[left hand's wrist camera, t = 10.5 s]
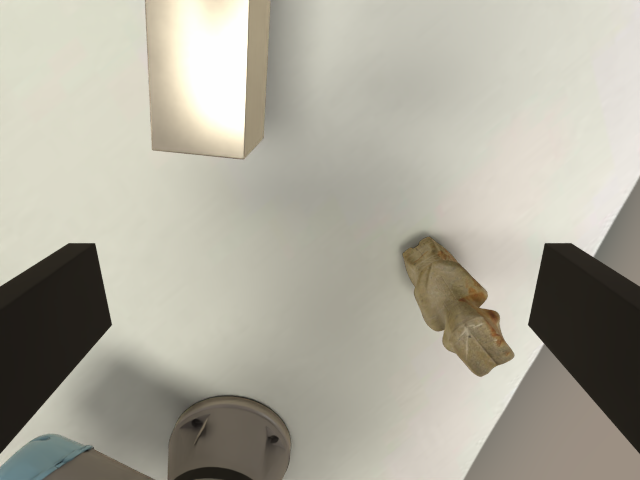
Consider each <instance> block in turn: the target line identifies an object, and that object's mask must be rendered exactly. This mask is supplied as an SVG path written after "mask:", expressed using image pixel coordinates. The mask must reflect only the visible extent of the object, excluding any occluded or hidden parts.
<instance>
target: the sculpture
mask: <svg viewBox="0 0 640 480" xmlns="http://www.w3.org/2000/svg"><path fill="white" fill-rule="evenodd" d="M403 257H404V262H405V267H406V270H407V273H408V275H409V277H410V279H411V281H412V283H413V285H414V286H415V290H414V295H415V298H416V301H417V303H418V305H419V307H420V310H421V313H422V315H423V318H424V320H425V322H426V324H427V325H428V326H429V327H430V328H431V329H433V330H435V331H443V330H444V335H443V340H442V342H443V345H444V347H445V348H446V349H447V350H449V351H451V352H453V353H456V354H457V355H458V356H459V358H460V359H461V360H462V361H463V362H464V363H465V364H466V366H467V367H468V368H469V369H470V370H471V371H472V372H473V373H474V374H475V375H477V376H479V377H482V376H484V375H486V374H488V373H489V372H490V371H491V370H492V369H493V368H494V367H496V366H498V365H501V364H504V363H506V362H508V361H510V360H511V359H513V357H514V353H513V351H512V350H511V348H510V347H509V346H508V344H507V343H506V342H505V340H504V338H503V336H502V333H501V330H500V325H499V321H500V316H499V314H498V313H497V312H496V311H493V310H488V309H482V308H479V307H480V306H481V305H482V304H483V303H484V302H485V300H486V299H487V297H488V294H487V291H486V290H485V289H484V288H483V287H482V286H481V285H480V284H479V283H478V282H477V281H476V280H475V279H474V278H473V277H472V276H471V275H470V274H469V273H468V272H467V271H466V270H465V269H464V268H463V267H462V266H461V265H460V264H459V263H458V262H457V261H456V259H455V258H454V257H453V256H452V255H451V254H450V253H449V252H448V251H447V250H446V249H445V248H444V247H442V246H441V245H440V244H438V243H437V242H436V241H434V240H433V239H432V238H431V237H426V238H425V239H423V240H421V241H420V242H419V245H418V246H416V247H415V248H409V249H408V250H406V251H405V252H404V253H403Z"/></svg>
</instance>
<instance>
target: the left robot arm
mask: <svg viewBox="0 0 640 480" xmlns="http://www.w3.org/2000/svg"><path fill="white" fill-rule="evenodd" d="M111 325H112V323H111V318H110V313H109V308H108V304H107V299H106V294H105V289H104V284H103V279H102V274H101V270H100V265H99V260H98V255H97V250H96V245H95V243H69V244H67V245H65V246H64V247H62V248H61V249H59V250H57V251H56V252H54V253H53V254H51V255H50V256H48V257H46V258H45V259H43V260H42V261H40V262H38V263H37V264H35V265H34V266H32V267H31V268H29V269H27V270H26V271H24V272H23V273H21V274H19V275H18V276H16V277H15V278H13V279H12V280H10V281H8V282H7V283H5V284H4V285H2V286H0V453H1V452H2V451H3V450H4V449H5V448H6V447H7V445H8V444H9V443H10V442H11V441H12V440H13V438H14V437H15V436H16V435H17V434H18V433H19V432H20V430H21V429H22V428H23V427H24V426H25V425H26V423H27V422H28V421H29V420H30V419H31V418H32V417H33V415H34V414H35V413H36V412H37V411H38V410H39V408H40V407H41V406H42V405H43V404H44V403H45V402H46V400H47V399H48V398H49V397H50V396H51V395H52V393H53V392H54V391H55V390H56V389H57V388H58V387H59V385H60V384H61V383H62V382H63V381H64V380H65V378H66V377H67V376H68V375H69V374H70V373H71V372H72V370H73V369H74V368H75V367H76V366H77V365H78V363H79V362H80V361H81V360H82V359H83V358H84V357H85V355H86V354H87V353H88V352H89V351H90V350H91V348H92V347H93V346H94V345H95V344H96V343H97V342H98V340H99V339H100V338H101V337H102V336H103V335H104V333H105V332H106V331H107V330H108V329H109V328H110V327H111ZM528 325H529V327H530V328H531V329H532V330H533V331H534V332H535V333H536V335H537V336H538V337H539V338H540V339H541V340H542V342H543V343H544V344H545V345H546V346H547V347H548V348H549V350H550V351H551V352H552V353H553V354H554V355H555V356H556V358H557V359H558V360H559V361H560V362H561V363H562V365H563V366H564V367H565V368H566V369H567V370H568V372H569V373H570V374H571V375H572V376H573V377H574V378H575V380H576V381H577V382H578V383H579V384H580V385H581V387H582V388H583V389H584V390H585V391H586V392H587V393H588V395H589V396H590V397H591V398H592V399H593V400H594V402H595V403H596V404H597V405H598V406H599V407H600V408H601V410H602V411H603V412H604V413H605V414H606V415H607V417H608V418H609V419H610V420H611V421H612V422H613V423H614V425H615V426H616V427H617V428H618V429H619V430H620V432H621V433H622V434H623V435H624V436H625V437H626V438H627V440H628V441H629V442H630V443H631V444H632V445H633V446H634V448H635V449H636V450H637V451H638V452H639V453H640V286H638V285H636V284H635V283H633V282H632V281H630V280H628V279H627V278H625V277H624V276H622V275H621V274H619V273H617V272H616V271H614V270H613V269H611V268H609V267H608V266H606V265H605V264H603V263H602V262H600V261H598V260H597V259H595V258H594V257H592V256H590V255H589V254H587V253H586V252H584V251H583V250H581V249H579V248H578V247H576V246H575V245H573V244H571V243H545V245H544V250H543V255H542V260H541V265H540V270H539V274H538V279H537V284H536V289H535V294H534V299H533V304H532V308H531V313H530V318H529V323H528ZM290 448H291V441H290V436H289V432H288V430H287V428H286V426H285V424H284V423H283V421H282V420H281V419H280V418H279V417H278V416H277V415H276V414H275V413H274V412H273V411H272V410H270V409H269V408H267V407H266V406H264V405H262V404H260V403H258V402H255V401H252V400H249V399H245V398H240V397H232V396H223V397H214V398H209V399H206V400H203V401H200V402H198V403H196V404H194V405H193V406H191V407H190V408H188V409H187V410H186V411H185V412H184V413H183V414H182V415H181V416H180V418H179V419H178V421H177V423H176V425H175V427H174V430H173V432H172V434H171V437H170V440H169V452H168V480H282V478H283V476H284V474H285V472H286V470H287V468H288V465H289V459H290ZM0 480H155V479H152V478H150V477H148V476H146V475H144V474H142V473H140V472H138V471H136V470H134V469H132V468H130V467H128V466H126V465H124V464H122V463H120V462H118V461H116V460H114V459H112V458H110V457H108V456H106V455H104V454H102V453H100V452H98V451H96V450H94V447H93V446H91V445H86V446H85V445H82V444H80V443H77V442H75V441H72V440H70V439H68V438H65V437H63V436H61V435H57V434H46V435H42V436H39V437H37V438H35V439H33V440H32V441H30V442H29V443H27V444H26V445H25V446H23V447H22V448H21V449H20V450H18V451H17V452H16V453H15V454H14V455H13V456H12V457H11V458H10V459H8V460H7V461H6V462H5V463H4V464H3V465H2V466H1V467H0Z"/></svg>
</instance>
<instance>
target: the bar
mask: <svg viewBox="0 0 640 480" xmlns="http://www.w3.org/2000/svg"><path fill="white" fill-rule="evenodd" d="M270 1H271V0H145V10H146V32H147V53H148V74H149V96H150V117H151V138H152V150H155V151H165V152H175V153H185V154H195V155H205V156H215V157H225V158H235V159H245V158H246V157H247V156H248V154H249V153H250V152H251V151H252V150H253V149H254V148H255V147H256V146H257V145H258V144H259V143H260V142H261V141H262V139H263V138H264V120H265V100H266V81H267V61H268V41H269V21H270Z"/></svg>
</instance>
